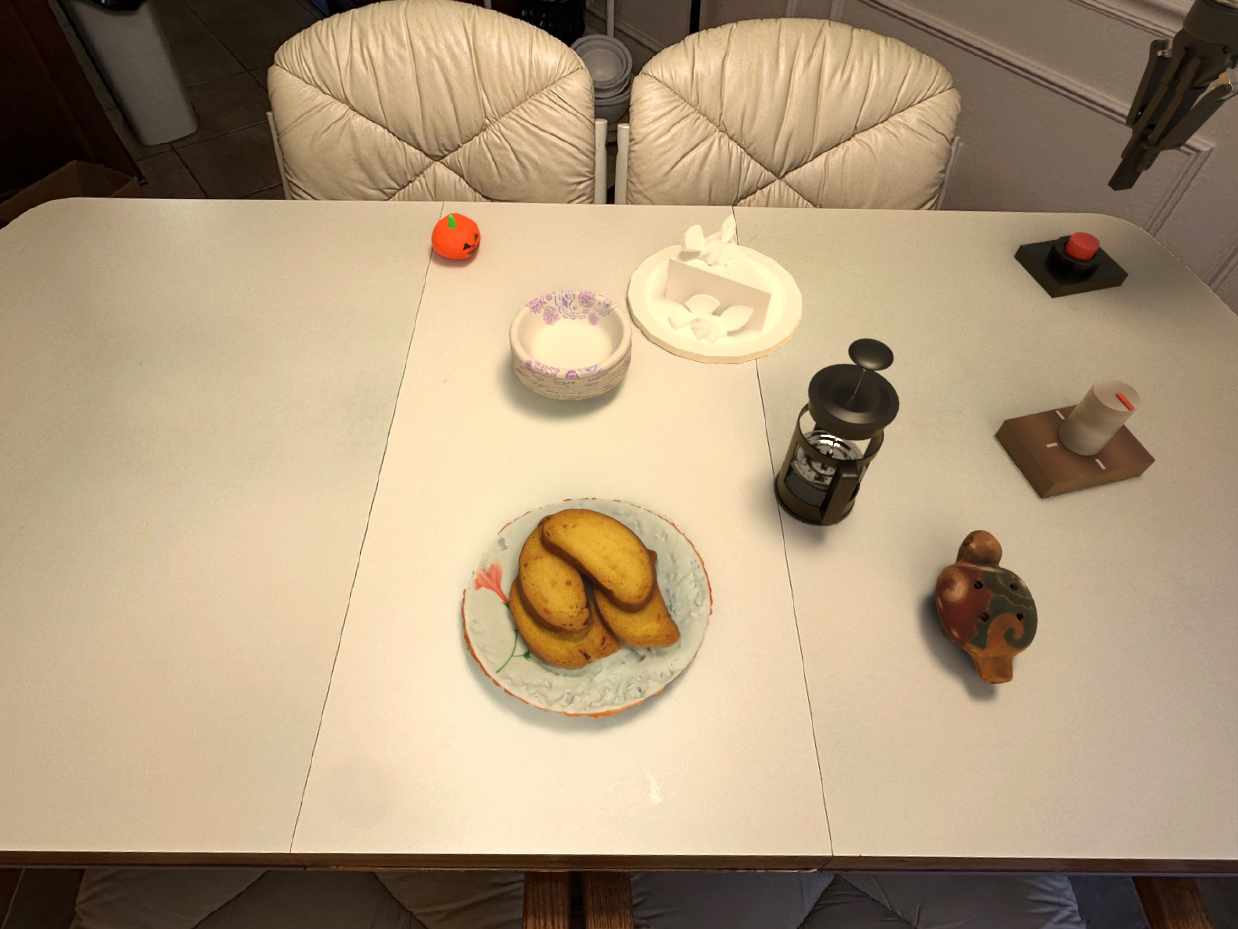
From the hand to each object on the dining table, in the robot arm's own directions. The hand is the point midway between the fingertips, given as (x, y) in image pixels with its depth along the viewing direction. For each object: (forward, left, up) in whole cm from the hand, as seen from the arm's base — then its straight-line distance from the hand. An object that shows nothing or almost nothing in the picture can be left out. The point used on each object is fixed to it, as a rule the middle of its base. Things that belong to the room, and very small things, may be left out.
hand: (1119, 186), depth 102 cm
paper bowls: (+78, +3, -15) cm, 79 cm away
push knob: (0, 0, -11) cm, 11 cm away
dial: (+22, +31, -11) cm, 40 cm away
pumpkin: (+89, -26, -15) cm, 94 cm away
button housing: (0, 0, -14) cm, 14 cm away
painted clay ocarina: (+46, +48, -15) cm, 68 cm away
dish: (+55, -6, -15) cm, 57 cm away
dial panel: (+22, +31, -14) cm, 41 cm away
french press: (+55, +29, -15) cm, 64 cm away
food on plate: (+84, +36, -15) cm, 93 cm away
